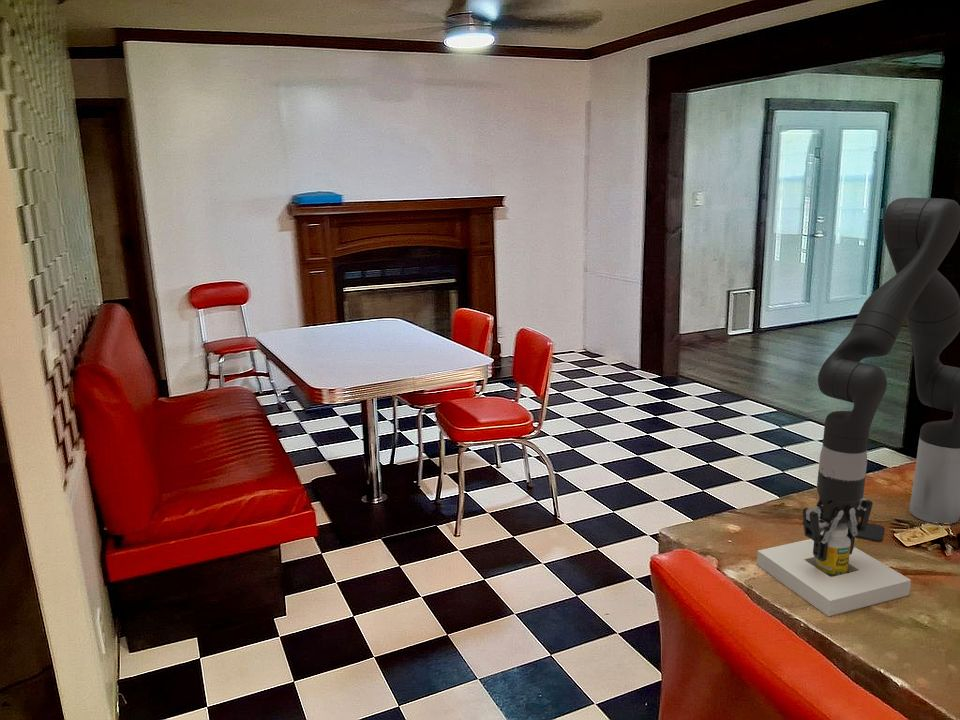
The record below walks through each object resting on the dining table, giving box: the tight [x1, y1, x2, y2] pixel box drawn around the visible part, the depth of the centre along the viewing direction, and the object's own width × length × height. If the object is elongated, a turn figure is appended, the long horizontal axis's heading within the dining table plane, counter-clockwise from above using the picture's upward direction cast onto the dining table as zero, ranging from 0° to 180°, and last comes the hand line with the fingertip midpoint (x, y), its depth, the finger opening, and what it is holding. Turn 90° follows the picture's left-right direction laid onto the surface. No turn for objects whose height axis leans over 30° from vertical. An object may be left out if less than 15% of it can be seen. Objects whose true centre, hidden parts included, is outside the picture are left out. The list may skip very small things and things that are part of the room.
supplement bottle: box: [816, 522, 851, 577], centre depth 132 cm, size 5×5×10 cm
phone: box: [802, 520, 885, 543], centre depth 153 cm, size 7×1×15 cm
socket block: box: [756, 538, 912, 617], centre depth 133 cm, size 18×18×3 cm
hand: (832, 555), depth 132 cm, fingers closed on supplement bottle, 5 cm apart
